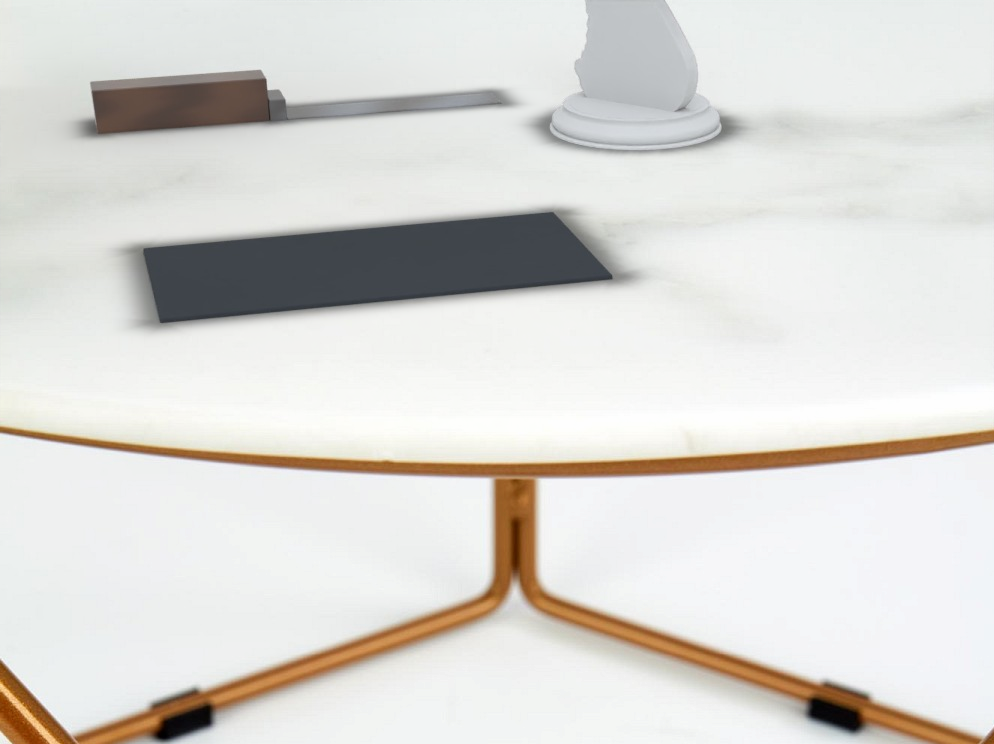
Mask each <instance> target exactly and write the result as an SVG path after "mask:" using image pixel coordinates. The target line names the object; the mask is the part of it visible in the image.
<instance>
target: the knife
mask: <svg viewBox="0 0 994 744" xmlns="http://www.w3.org/2000/svg"><path fill="white" fill-rule="evenodd" d="M266 77H267V76H265V74H264V72H263V70H262V69H251V70H237V71H223V72H222V71H221V72H207V73H193V74H179V75H164V76H151V77H149V76H148V77H137V78H136V77H135V78H122V79H109V80H94V81H89V86H90V95H91V101H92V107H93V114H94V121H95V122H94V123H95V128H96V132H97V134H98V135H101V134H102V135H103V134H113V133H115V134H116V133H129V132H142V131H155V130H167V129H180V128H193V127H207V126H208V127H209V126H220V125H233V124H246V123H247V124H248V123H259V122H260V123H261V122H279V121H280V122H281V121H291V120H293V121H295V120H304V119H305V120H306V119H319V118H331V117H344V116H345V117H346V116H359V115H360V116H361V115H371V114H372V115H373V114H383V113H385V114H386V113H399V112H411V111H413V112H414V111H425V110H436V109H451V108H465V107H477V106H479V107H480V106H489V105H501V104H502V101H500V100H499V98H497V96H496V95H494V94H493V93H492V92H483V93H469V94H455V95H442V96H427V97H414V98H401V99H400V98H399V99H388V100H375V101H361V102H345V103H335V104H319V105H306V106H293V107H287V101H286V98H285V96H284V95H283V93H282V92H281V90H280V89H277V88H276V89H268V80H267V78H266Z"/></svg>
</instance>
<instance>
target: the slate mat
mask: <svg viewBox="0 0 994 744" xmlns="http://www.w3.org/2000/svg"><path fill="white" fill-rule="evenodd" d="M143 255H144V260H145V264H146V268H147V272H148V277H149V280H150V285H151V289H152V294H153V297H154V302H155V305H156V310H157V315H158V318H159V323H161V324H167V323H175V322H187V321H197V320H198V321H199V320H206V319H207V320H208V319H217V318H227V317H228V318H229V317H238V316H247V315H258V314H271V313H279V312H289V311H290V312H291V311H301V310H310V309H320V308H331V307H341V306H352V305H362V304H372V303H373V304H374V303H384V302H393V301H402V300H411V299H412V300H413V299H424V298H434V297H435V298H436V297H444V296H445V297H446V296H453V295H454V296H455V295H464V294H465V295H467V294H475V293H487V292H495V291H506V290H515V289H526V288H527V289H528V288H536V287H546V286H557V285H567V284H568V285H569V284H579V283H587V282H597V281H607V280H608V281H609V280H613V274H612V273H611V272H610V271H609V270H608V269H607V268H606V267H605V265H603V263H601V261H600V260H599V259H598V258H597V257H596V256H595V255H594V254H593V253H592V252H591V251H590V250H589V249H588V248H587V246H586V245H584V243H583V242H582V241H581V240H580V239H579V238H578V237H577V235H575V234H574V233H573V232H572V230H570V228H569V227H568V226H567V225H566V224H565V223H564V222H563V221H562V220H561V218H560V217H558V216H557V214H556V213H555V212H554V211H549V212H547V211H546V212H538V213H537V212H535V213H526V214H525V213H524V214H514V215H504V216H492V217H482V218H481V217H480V218H479V217H478V218H470V219H457V220H447V221H434V222H424V223H412V224H402V225H390V226H389V225H388V226H379V227H378V226H377V227H368V228H367V227H366V228H357V229H356V228H355V229H344V230H334V231H323V232H312V233H300V234H290V235H278V236H277V235H276V236H269V237H268V236H267V237H265V236H264V237H255V238H245V239H233V240H220V241H210V242H198V243H187V244H178V245H177V244H176V245H164V246H154V247H144V248H143Z"/></svg>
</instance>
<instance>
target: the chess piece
mask: <svg viewBox="0 0 994 744" xmlns="http://www.w3.org/2000/svg"><path fill="white" fill-rule="evenodd" d="M584 3H585V13H586V15H587V21H586V33H585V38H586V42H585V44H584V48H583V50H582V51H581V53H580V58H577V59H575V60H574V63H573V64H574V65H573V66H574V67H573V69H574V72H575V74H576V76H577V78H578V81H579V86H580V89H581V91H578V92H575V93H573V94H570V95H568V96H566V97H565V98H564V100H563V101H562V105H560V107H558V108H557V109H556V110H555V111H554V112H553V113H552V115H551V122H550V124H549V131H550V132H551V134H552V135H553V136H555V137H556V138H558V139H560V140H563V141H565V142H568V143H571V144H574V145H575V144H576V145H579V146H584V147H590V148H597V149H606V150H619V151H652V150H654V151H655V150H665V149H675V148H681V147H688V146H692V145H697V144H700V143H704V142H707V141H709V140H712V139H714V138H715V137H716V136H718V135H720V133H721V131H722V127H723V126H722V123H721V121H720V120H721V118H720V117H721V116H720V114H719V112H718V111H717V109H715V108H714V107H713V106H711V105H710V104H711V103H710V100H709V99H708V98H707V97H706V96H704V95H702V94H699V93H697V88H698V83H699V67H698V62H697V58H696V56H695V55H696V54H695V52H694V50H693V48H692V46H691V44H690V41H689V40H688V38H687V36H686V35H685V33H684V30H683V29H682V27H681V25H680V23H679V21H678V20H677V18H676V16H675V14H674V12H673V10H672V9H671V8H670V6H669V4H668V3H667V1H666V0H584Z"/></svg>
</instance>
